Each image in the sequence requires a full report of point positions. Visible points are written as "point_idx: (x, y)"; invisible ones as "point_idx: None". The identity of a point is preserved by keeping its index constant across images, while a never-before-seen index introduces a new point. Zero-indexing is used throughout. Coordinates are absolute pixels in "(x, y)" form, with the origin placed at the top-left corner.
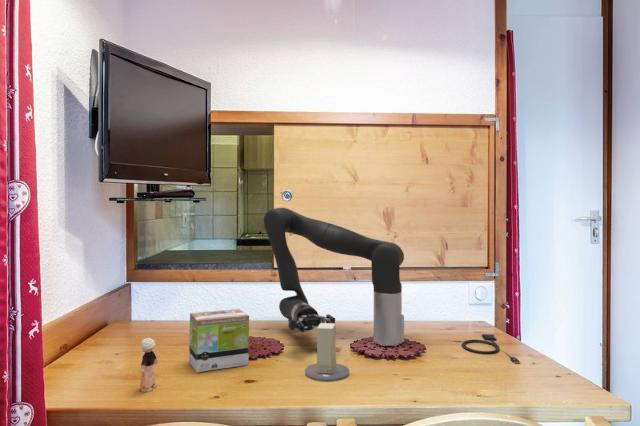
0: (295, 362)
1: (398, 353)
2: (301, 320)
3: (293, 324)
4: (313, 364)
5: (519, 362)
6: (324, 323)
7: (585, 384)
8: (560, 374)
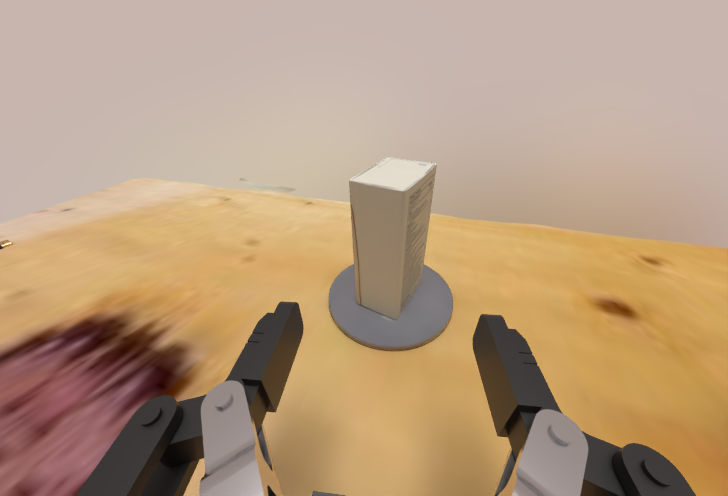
0: (487, 423)
1: (50, 377)
2: (527, 478)
3: (605, 446)
4: (418, 338)
5: (6, 240)
6: (391, 184)
7: (90, 195)
8: (54, 211)
